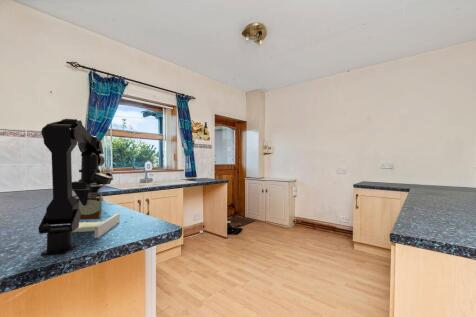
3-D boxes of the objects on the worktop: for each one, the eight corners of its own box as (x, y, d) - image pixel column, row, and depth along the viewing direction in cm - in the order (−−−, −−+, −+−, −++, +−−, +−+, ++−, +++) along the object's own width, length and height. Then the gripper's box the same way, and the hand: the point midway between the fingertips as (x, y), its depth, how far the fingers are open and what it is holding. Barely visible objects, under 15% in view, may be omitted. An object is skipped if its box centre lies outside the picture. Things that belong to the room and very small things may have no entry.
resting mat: (100, 230, 85) (100, 230, 85) (58, 232, 82) (58, 231, 82) (113, 222, 96) (113, 221, 96) (77, 223, 94) (77, 222, 94)
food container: (110, 213, 95) (108, 191, 93) (103, 219, 89) (101, 196, 87) (80, 213, 93) (78, 192, 91) (71, 220, 87) (68, 197, 85)
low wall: (98, 237, 77) (98, 226, 77) (94, 238, 77) (94, 227, 77) (119, 222, 97) (119, 213, 97) (116, 222, 97) (116, 213, 97)
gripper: (99, 167, 82) (98, 208, 81) (118, 166, 100) (118, 199, 100) (67, 167, 80) (66, 209, 80) (93, 166, 98) (92, 200, 98)
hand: (88, 203), depth 89 cm, fingers closed on food container, 6 cm apart
